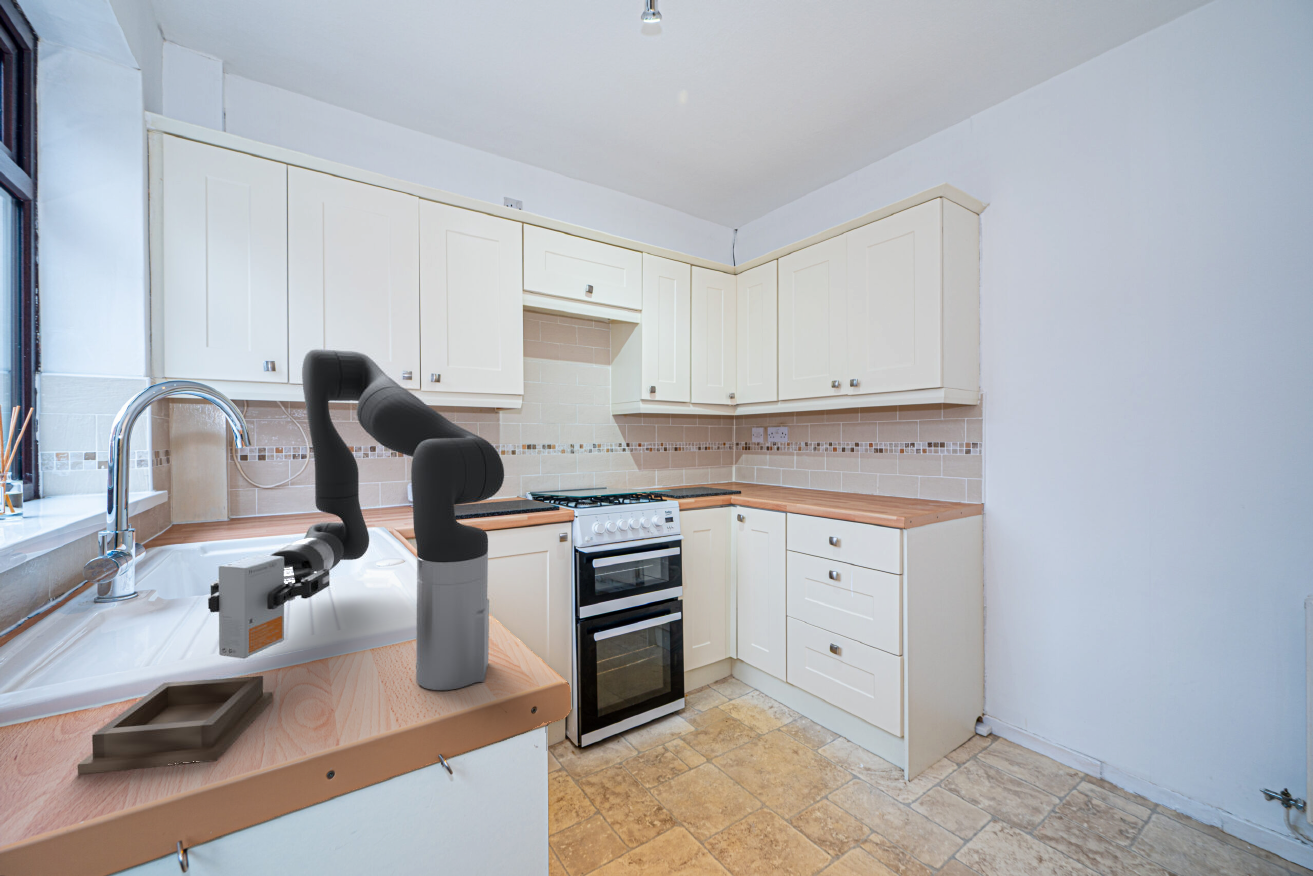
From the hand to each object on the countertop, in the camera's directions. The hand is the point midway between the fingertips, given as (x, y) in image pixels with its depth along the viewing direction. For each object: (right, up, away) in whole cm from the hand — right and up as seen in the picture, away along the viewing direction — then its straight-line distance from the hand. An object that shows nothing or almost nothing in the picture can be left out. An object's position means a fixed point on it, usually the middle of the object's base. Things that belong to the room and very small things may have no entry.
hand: (242, 603), depth 69 cm
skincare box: (-1, -7, +3) cm, 8 cm away
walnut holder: (+1, -12, -9) cm, 15 cm away
